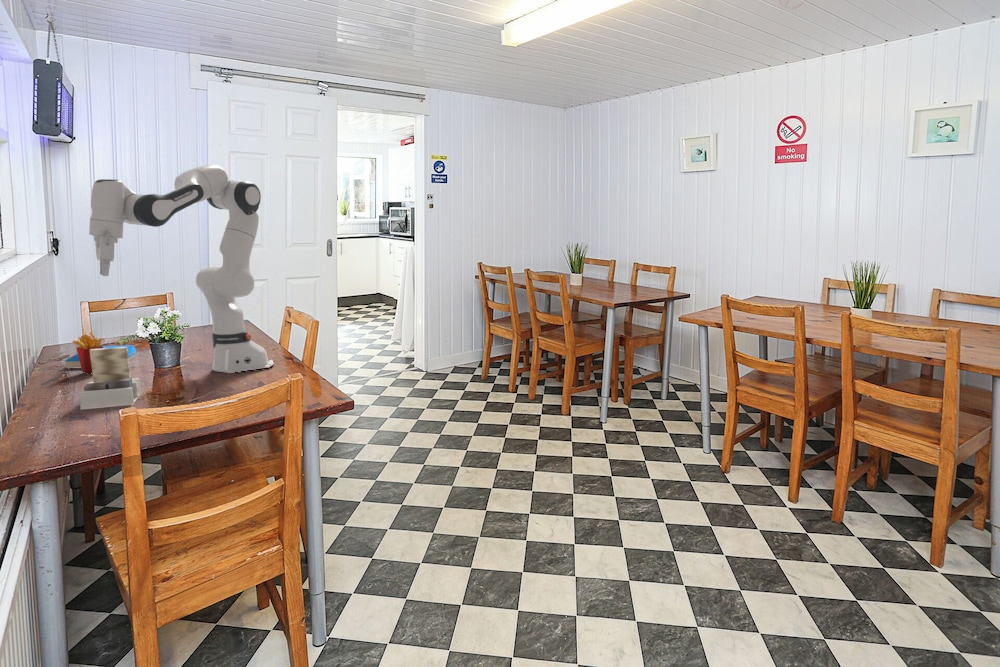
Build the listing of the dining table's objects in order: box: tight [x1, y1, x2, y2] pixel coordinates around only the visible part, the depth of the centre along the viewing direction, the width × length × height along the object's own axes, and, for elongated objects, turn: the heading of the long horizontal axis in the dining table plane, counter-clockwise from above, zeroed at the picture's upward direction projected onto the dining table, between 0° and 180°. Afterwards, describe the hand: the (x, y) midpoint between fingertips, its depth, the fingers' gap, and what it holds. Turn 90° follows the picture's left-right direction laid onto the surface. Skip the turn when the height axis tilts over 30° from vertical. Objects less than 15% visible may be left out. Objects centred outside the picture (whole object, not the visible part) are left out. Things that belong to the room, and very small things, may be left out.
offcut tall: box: [108, 376, 134, 397], centre depth 195 cm, size 6×4×7 cm
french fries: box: [72, 332, 104, 375], centre depth 233 cm, size 9×8×15 cm
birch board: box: [89, 347, 132, 383], centre depth 198 cm, size 10×2×16 cm, turn 110°
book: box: [64, 344, 136, 368], centre depth 253 cm, size 17×4×25 cm
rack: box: [78, 377, 142, 411], centre depth 196 cm, size 14×14×6 cm
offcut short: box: [83, 382, 109, 391], centre depth 193 cm, size 6×4×6 cm
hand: (104, 275), depth 195 cm, fingers open, 8 cm apart
